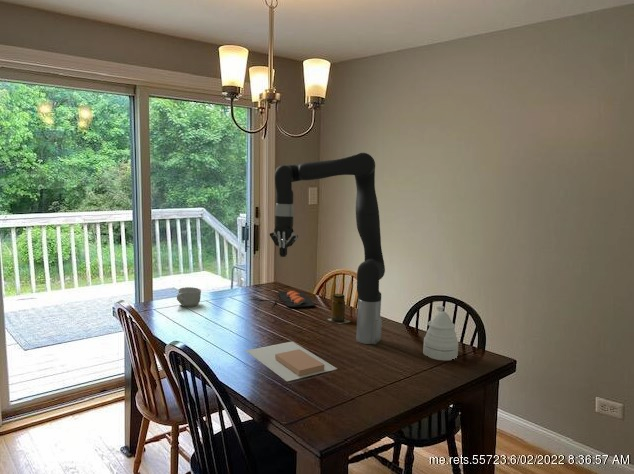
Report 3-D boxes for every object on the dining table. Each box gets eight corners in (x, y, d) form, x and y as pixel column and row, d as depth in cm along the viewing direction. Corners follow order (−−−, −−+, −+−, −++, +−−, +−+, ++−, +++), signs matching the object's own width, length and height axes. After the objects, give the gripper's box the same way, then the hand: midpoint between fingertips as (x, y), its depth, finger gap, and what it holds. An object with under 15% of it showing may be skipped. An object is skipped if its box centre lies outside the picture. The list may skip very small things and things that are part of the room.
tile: (275, 354, 169) (299, 370, 156) (299, 349, 174) (324, 364, 161) (275, 359, 169) (299, 376, 156) (299, 354, 175) (324, 370, 162)
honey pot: (416, 349, 186) (419, 304, 184) (443, 346, 191) (446, 302, 189) (436, 362, 175) (440, 314, 172) (464, 358, 180) (468, 311, 177)
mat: (245, 353, 177) (245, 350, 177) (292, 343, 188) (292, 341, 188) (286, 384, 152) (286, 381, 152) (337, 371, 163) (337, 368, 163)
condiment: (338, 317, 225) (339, 292, 223) (351, 321, 218) (352, 296, 217) (326, 319, 220) (327, 294, 219) (339, 324, 214) (340, 298, 212)
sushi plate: (316, 308, 239) (316, 301, 238) (256, 311, 230) (256, 304, 230) (302, 294, 266) (302, 287, 266) (248, 296, 258) (248, 289, 257)
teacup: (191, 301, 243) (191, 285, 242) (205, 305, 237) (205, 289, 236) (168, 306, 232) (168, 290, 231) (182, 311, 225) (182, 294, 224)
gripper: (265, 214, 195) (264, 256, 198) (293, 216, 189) (292, 259, 191) (275, 213, 202) (274, 253, 204) (302, 215, 196) (301, 257, 198)
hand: (283, 256), depth 198 cm, fingers closed
